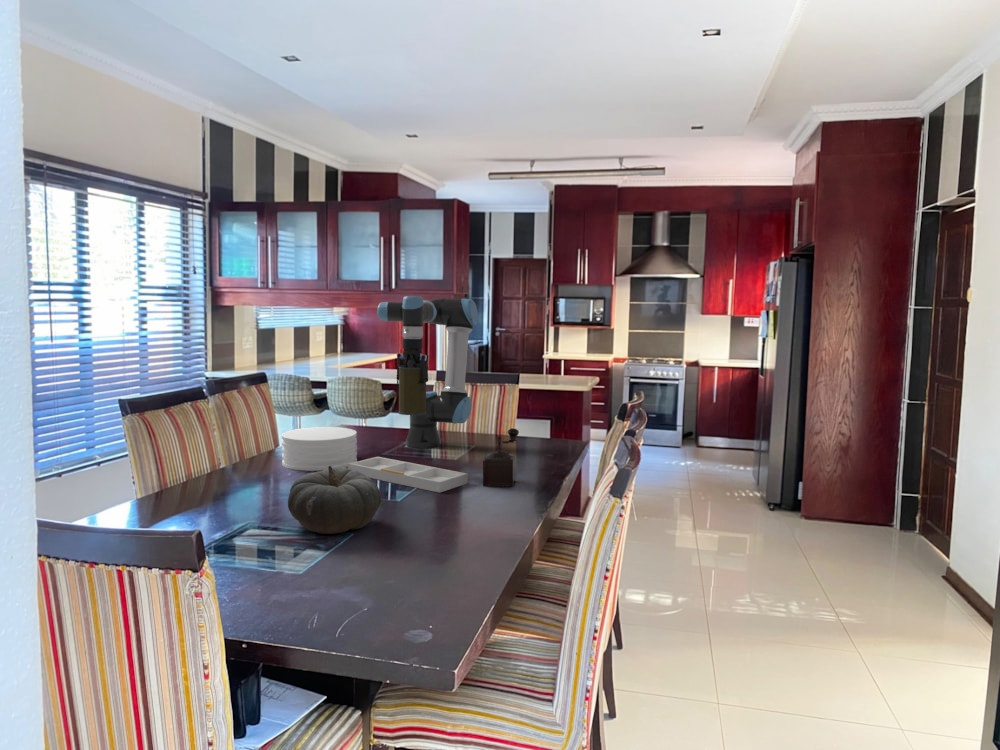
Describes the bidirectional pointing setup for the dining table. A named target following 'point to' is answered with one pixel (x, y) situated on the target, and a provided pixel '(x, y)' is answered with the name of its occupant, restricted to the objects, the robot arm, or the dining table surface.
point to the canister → (411, 391)
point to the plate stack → (318, 448)
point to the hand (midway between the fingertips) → (412, 400)
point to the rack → (410, 474)
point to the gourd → (334, 500)
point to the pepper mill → (500, 465)
